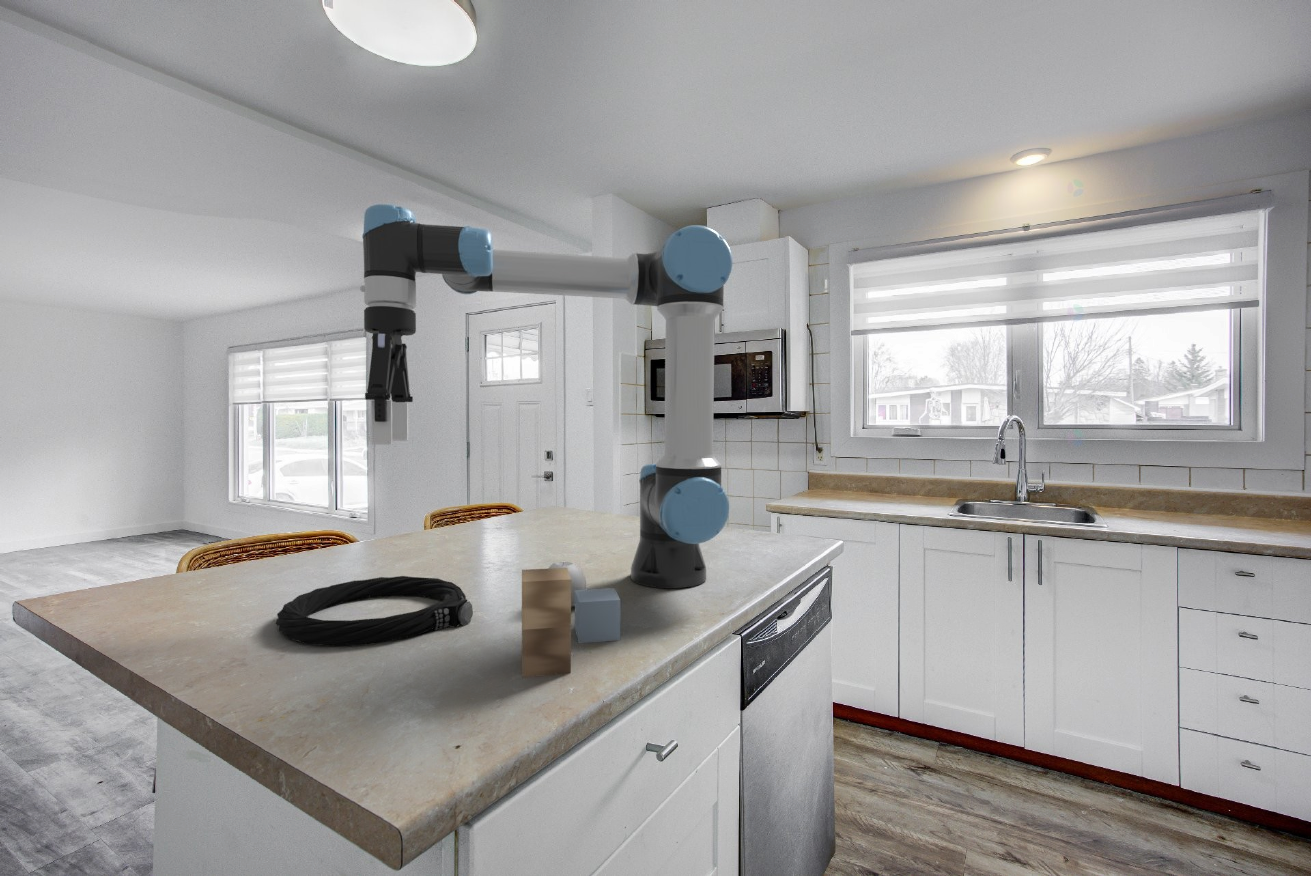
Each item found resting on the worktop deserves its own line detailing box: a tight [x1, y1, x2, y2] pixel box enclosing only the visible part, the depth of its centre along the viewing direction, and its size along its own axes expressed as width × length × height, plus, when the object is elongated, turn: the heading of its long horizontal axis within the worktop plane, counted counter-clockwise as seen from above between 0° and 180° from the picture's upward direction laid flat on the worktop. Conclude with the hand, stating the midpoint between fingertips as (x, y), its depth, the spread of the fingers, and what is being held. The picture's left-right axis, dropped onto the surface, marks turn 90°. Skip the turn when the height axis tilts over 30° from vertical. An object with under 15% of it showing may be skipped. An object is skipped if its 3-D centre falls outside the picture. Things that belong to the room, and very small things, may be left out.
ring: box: [274, 575, 474, 647], centre depth 98 cm, size 28×4×30 cm
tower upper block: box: [521, 567, 572, 631], centre depth 79 cm, size 6×6×6 cm
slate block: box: [574, 587, 621, 644], centre depth 91 cm, size 6×6×6 cm
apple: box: [547, 560, 587, 608], centre depth 103 cm, size 8×8×8 cm
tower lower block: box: [521, 625, 572, 678], centre depth 79 cm, size 6×6×6 cm
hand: (391, 442), depth 97 cm, fingers open, 13 cm apart
